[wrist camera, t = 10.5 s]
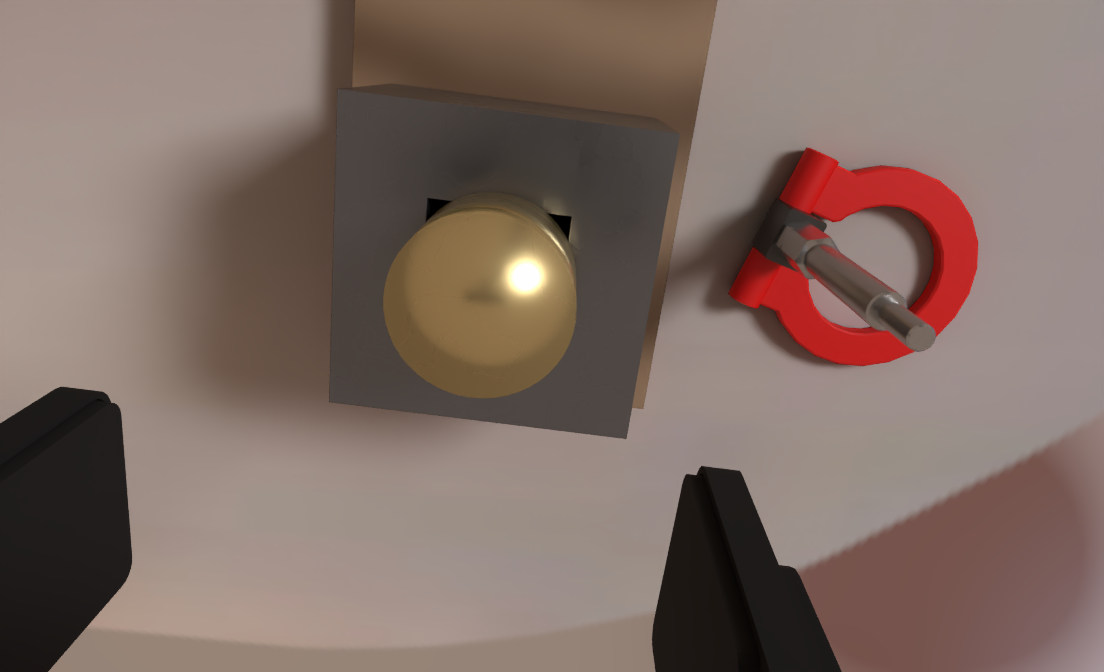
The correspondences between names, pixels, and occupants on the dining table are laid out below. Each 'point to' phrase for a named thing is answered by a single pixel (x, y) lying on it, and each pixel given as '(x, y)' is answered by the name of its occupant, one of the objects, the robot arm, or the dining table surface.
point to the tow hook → (808, 253)
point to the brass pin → (483, 296)
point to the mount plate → (553, 70)
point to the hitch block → (512, 168)
